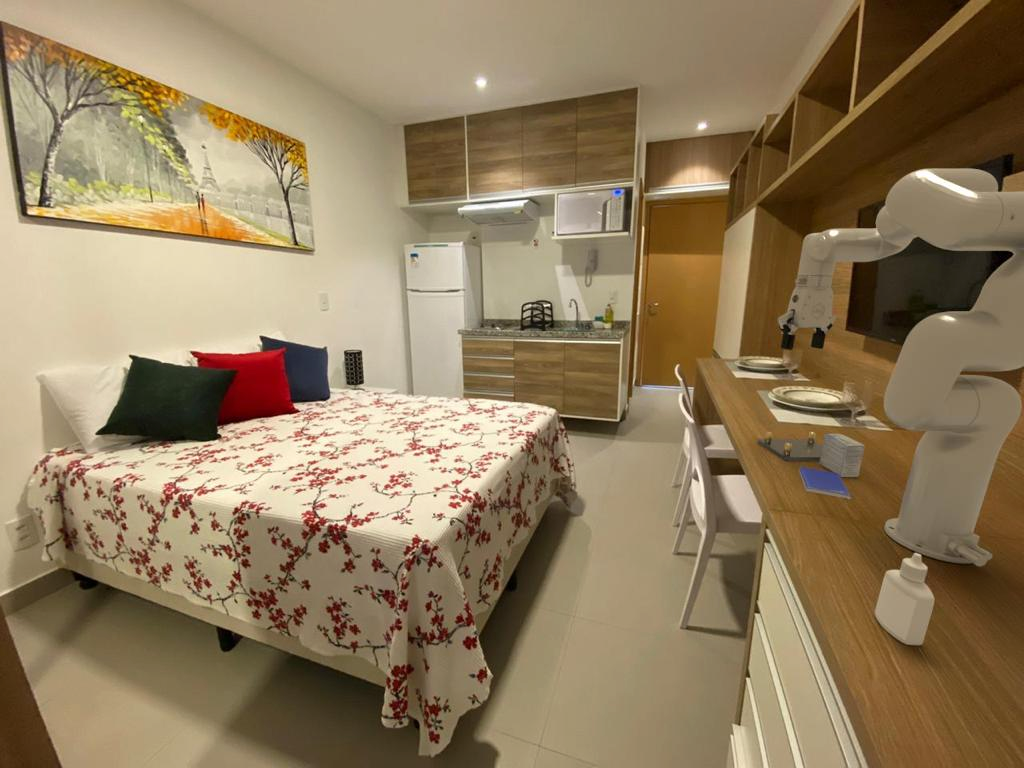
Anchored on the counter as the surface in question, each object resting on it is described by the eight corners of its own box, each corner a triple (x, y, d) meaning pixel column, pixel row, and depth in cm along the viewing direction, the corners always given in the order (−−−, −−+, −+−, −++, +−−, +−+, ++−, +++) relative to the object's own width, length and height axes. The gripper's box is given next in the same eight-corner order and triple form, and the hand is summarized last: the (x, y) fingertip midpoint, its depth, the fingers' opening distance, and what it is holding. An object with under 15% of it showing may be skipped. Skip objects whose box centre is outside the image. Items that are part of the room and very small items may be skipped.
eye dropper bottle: (880, 637, 56) (901, 560, 53) (872, 610, 61) (890, 538, 58) (924, 652, 54) (948, 573, 51) (912, 622, 59) (933, 548, 56)
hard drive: (851, 495, 92) (838, 473, 103) (807, 486, 95) (799, 466, 106) (850, 501, 92) (837, 478, 103) (805, 493, 96) (798, 471, 106)
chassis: (844, 461, 111) (847, 447, 110) (785, 461, 111) (787, 446, 110) (810, 443, 124) (813, 429, 123) (757, 442, 124) (759, 429, 123)
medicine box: (858, 478, 102) (866, 445, 100) (840, 477, 102) (847, 445, 100) (835, 464, 110) (841, 433, 108) (818, 464, 110) (824, 433, 108)
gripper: (798, 283, 102) (786, 351, 107) (854, 283, 106) (841, 349, 110) (773, 283, 109) (763, 347, 114) (827, 283, 113) (815, 345, 117)
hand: (801, 348), depth 112 cm, fingers open, 9 cm apart
